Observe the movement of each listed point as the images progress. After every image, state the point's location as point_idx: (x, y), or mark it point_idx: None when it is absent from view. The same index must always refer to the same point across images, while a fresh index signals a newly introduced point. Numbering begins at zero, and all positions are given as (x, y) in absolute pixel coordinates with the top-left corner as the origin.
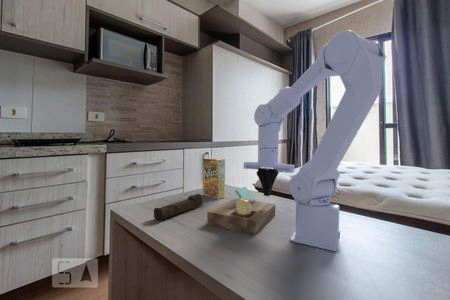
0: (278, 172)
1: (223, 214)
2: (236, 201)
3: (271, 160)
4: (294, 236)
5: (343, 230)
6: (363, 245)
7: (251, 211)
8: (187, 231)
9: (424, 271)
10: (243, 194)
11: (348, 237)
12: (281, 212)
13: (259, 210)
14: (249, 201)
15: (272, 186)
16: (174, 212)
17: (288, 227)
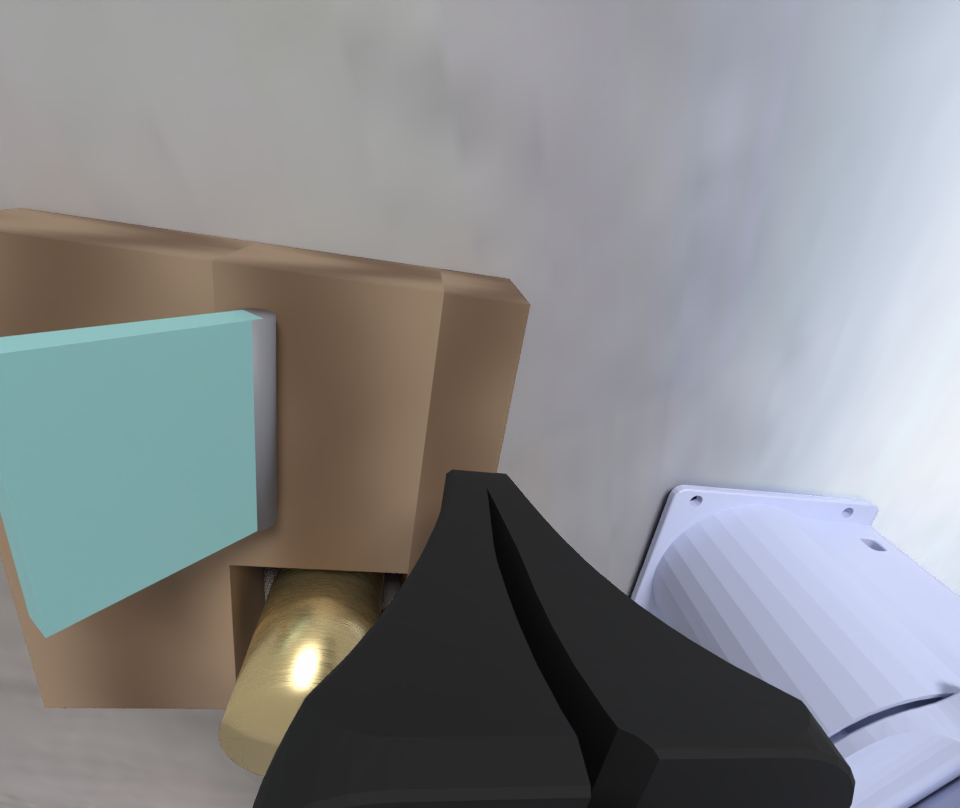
0: (821, 786)
1: (198, 704)
2: (240, 753)
3: None
4: (645, 603)
5: (954, 384)
6: (948, 529)
7: (357, 567)
8: (84, 724)
9: None
10: (147, 521)
11: (927, 471)
12: (560, 146)
13: (416, 540)
14: None
15: (555, 534)
16: None
17: (616, 472)
